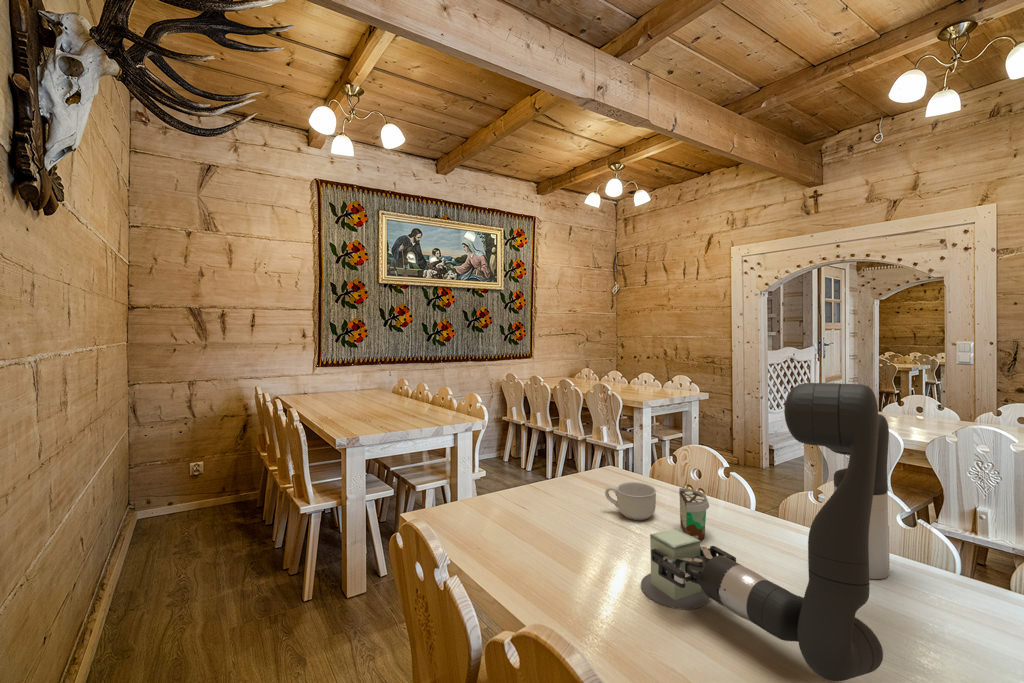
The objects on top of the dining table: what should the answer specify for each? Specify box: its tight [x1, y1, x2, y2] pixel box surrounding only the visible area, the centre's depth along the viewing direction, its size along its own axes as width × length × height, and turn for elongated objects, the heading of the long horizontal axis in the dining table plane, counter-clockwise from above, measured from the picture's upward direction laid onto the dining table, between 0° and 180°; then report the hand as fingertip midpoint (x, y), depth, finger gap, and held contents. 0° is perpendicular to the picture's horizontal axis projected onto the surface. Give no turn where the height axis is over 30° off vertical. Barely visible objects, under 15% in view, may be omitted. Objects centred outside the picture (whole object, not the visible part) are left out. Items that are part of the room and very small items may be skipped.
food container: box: [678, 487, 710, 542], centre depth 118 cm, size 12×6×10 cm, turn 168°
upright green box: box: [649, 527, 701, 600], centre depth 93 cm, size 7×7×10 cm
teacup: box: [604, 481, 657, 521], centre depth 132 cm, size 14×11×8 cm
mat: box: [640, 572, 711, 610], centre depth 93 cm, size 13×13×1 cm
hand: (669, 549), depth 94 cm, fingers open, 8 cm apart
